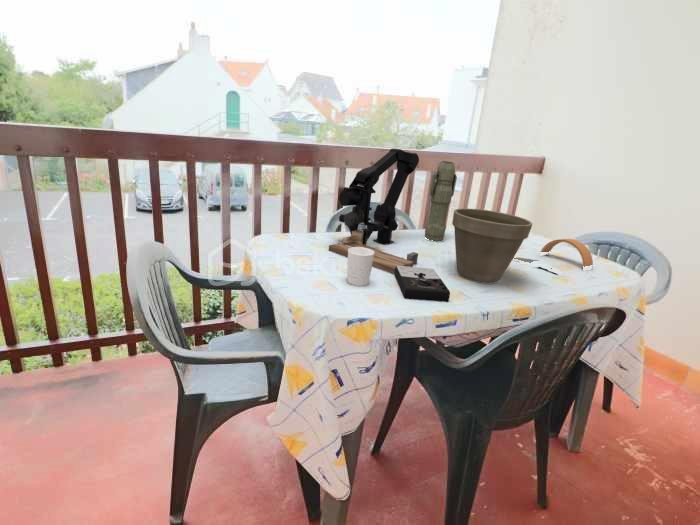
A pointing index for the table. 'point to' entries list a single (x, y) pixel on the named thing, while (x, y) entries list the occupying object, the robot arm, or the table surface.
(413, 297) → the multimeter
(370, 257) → the white cup
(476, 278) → the plant pot
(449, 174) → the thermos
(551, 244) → the arch
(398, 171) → the robot arm
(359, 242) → the marking gauge
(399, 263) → the walnut board
